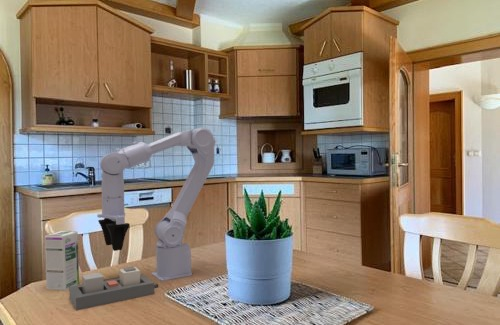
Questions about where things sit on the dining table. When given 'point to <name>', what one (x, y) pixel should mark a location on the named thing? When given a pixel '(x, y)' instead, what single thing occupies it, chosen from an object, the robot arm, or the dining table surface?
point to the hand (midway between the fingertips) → (113, 247)
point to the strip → (107, 291)
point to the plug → (129, 276)
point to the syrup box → (62, 260)
